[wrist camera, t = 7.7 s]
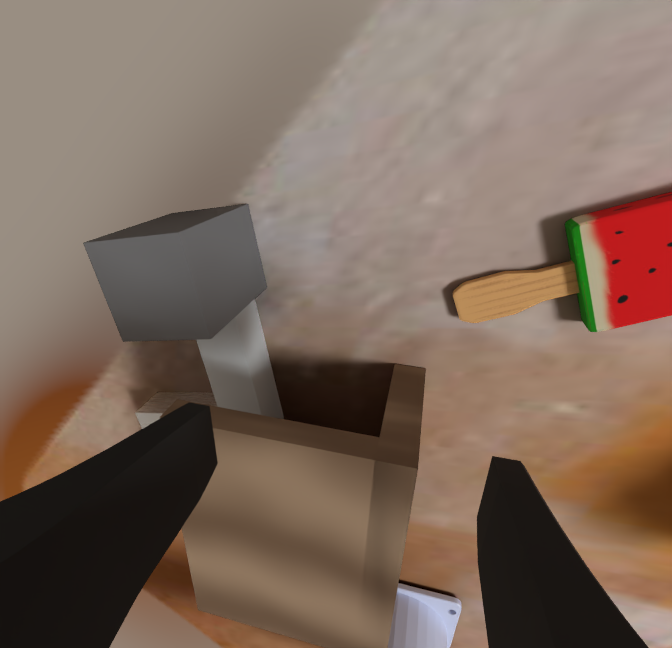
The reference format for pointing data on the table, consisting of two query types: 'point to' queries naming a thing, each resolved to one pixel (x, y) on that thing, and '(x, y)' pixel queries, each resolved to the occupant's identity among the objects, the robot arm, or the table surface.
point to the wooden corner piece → (307, 521)
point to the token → (169, 404)
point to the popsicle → (592, 271)
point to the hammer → (195, 296)
